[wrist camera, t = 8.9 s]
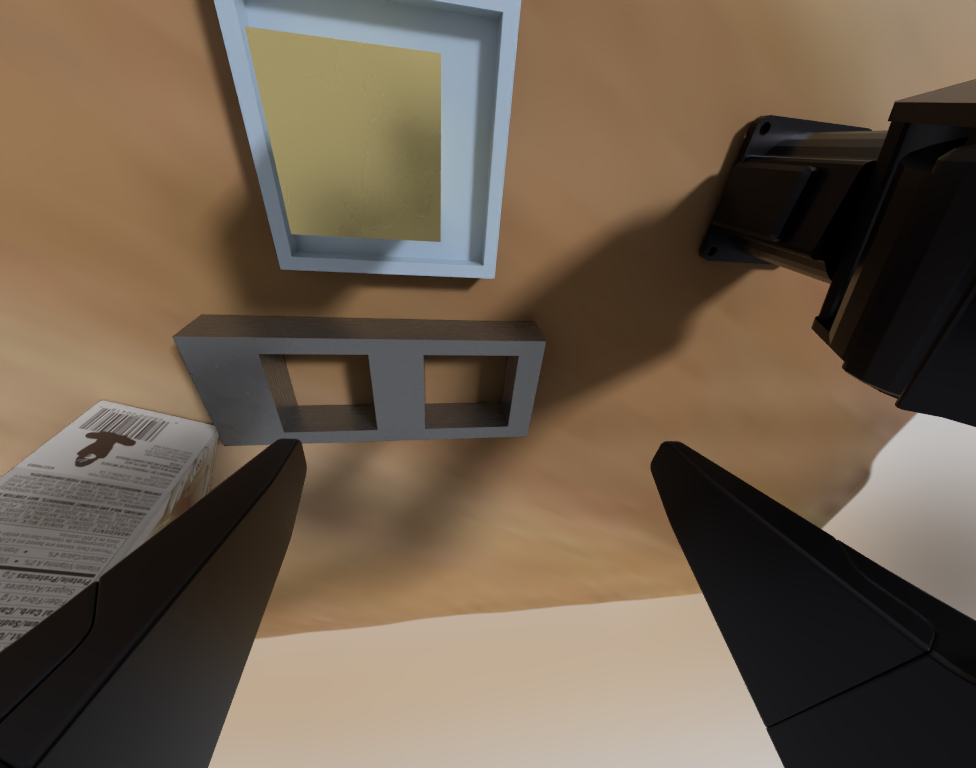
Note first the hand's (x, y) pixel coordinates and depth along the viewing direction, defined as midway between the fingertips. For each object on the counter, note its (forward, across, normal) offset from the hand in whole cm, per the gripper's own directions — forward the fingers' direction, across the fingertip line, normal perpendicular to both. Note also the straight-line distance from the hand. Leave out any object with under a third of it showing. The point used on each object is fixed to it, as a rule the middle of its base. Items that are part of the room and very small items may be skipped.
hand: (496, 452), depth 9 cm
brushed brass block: (+12, +4, -6) cm, 14 cm away
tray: (+13, +4, -6) cm, 14 cm away
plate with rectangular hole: (+13, +4, +6) cm, 15 cm away
